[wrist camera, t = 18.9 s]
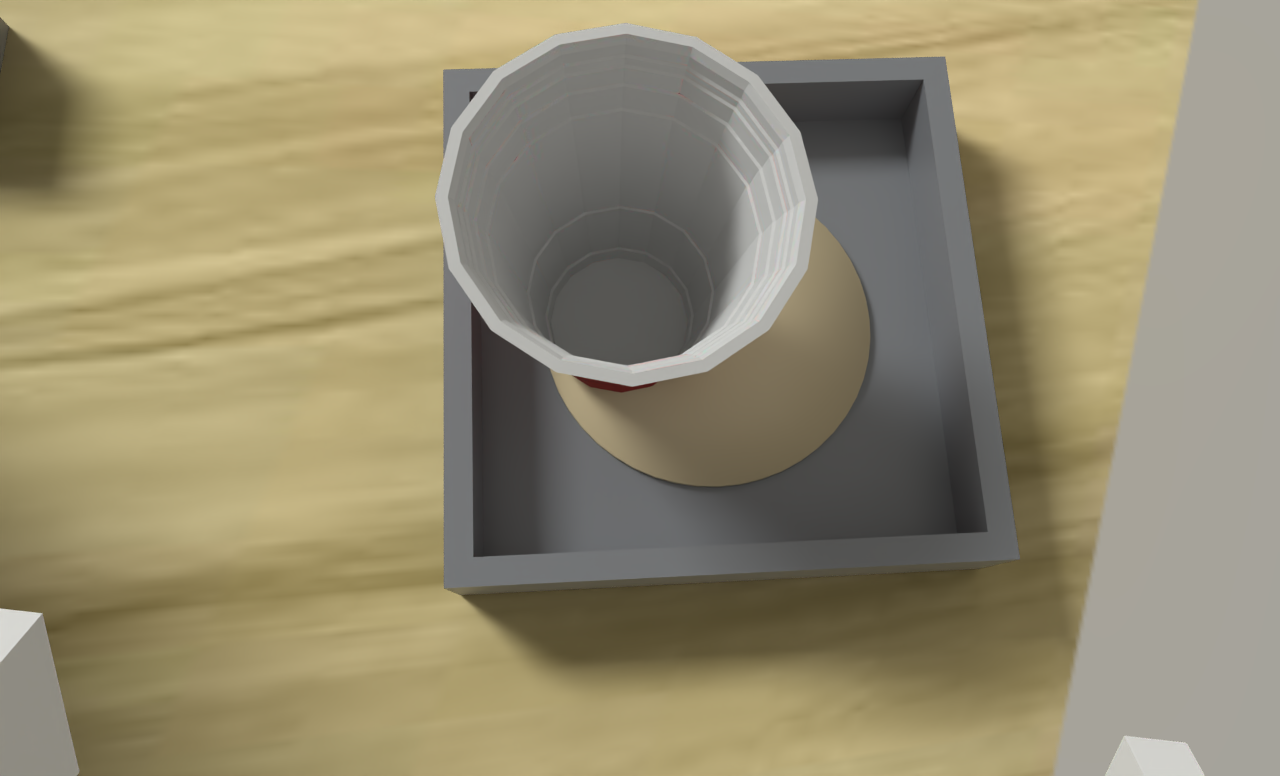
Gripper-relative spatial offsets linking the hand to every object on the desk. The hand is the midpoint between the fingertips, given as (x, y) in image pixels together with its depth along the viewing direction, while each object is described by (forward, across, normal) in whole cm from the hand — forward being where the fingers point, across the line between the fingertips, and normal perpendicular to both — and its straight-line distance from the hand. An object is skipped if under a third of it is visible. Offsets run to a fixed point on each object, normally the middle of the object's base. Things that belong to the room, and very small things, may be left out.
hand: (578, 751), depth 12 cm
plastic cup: (+27, 0, -7) cm, 28 cm away
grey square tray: (+28, +3, -7) cm, 29 cm away
